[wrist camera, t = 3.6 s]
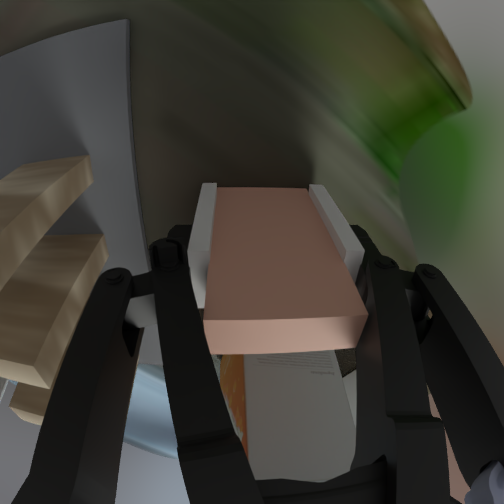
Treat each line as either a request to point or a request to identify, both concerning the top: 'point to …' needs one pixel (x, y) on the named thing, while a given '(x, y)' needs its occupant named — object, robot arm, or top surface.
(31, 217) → the domino
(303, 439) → the small box
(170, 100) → the top surface
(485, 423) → the robot arm
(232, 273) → the domino
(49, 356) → the domino
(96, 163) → the mat
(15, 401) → the domino
